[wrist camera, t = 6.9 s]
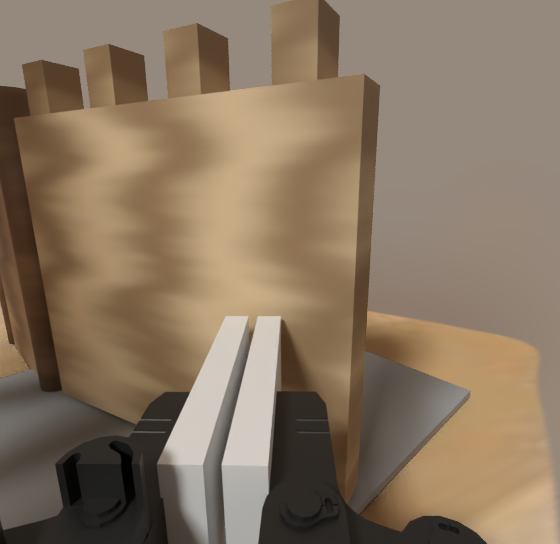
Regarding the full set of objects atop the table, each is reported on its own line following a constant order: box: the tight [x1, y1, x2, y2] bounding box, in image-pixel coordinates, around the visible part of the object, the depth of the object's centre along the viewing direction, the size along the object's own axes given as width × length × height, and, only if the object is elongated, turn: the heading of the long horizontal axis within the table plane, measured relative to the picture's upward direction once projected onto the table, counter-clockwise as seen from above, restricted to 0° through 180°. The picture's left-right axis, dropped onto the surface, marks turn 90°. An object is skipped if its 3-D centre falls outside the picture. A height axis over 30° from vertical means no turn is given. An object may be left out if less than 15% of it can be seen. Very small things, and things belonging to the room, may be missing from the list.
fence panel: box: [14, 0, 380, 505], centre depth 16 cm, size 16×2×16 cm, turn 62°
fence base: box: [0, 86, 470, 544], centre depth 21 cm, size 28×22×16 cm
